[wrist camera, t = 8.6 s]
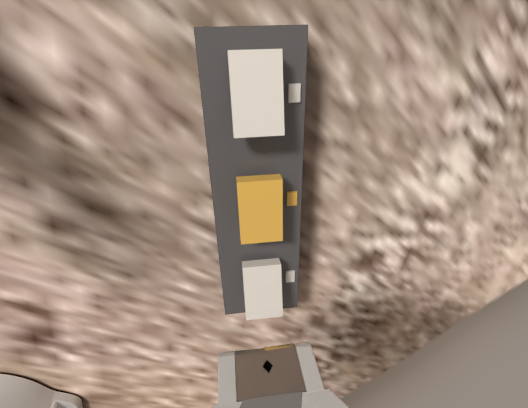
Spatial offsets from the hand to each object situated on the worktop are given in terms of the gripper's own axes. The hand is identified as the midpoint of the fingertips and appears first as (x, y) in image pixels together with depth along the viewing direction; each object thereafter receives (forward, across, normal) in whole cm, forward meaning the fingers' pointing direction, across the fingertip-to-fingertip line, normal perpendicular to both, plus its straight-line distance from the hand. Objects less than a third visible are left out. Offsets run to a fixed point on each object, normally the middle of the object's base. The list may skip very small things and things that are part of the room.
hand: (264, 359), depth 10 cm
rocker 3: (+15, +2, -10) cm, 18 cm away
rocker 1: (+15, +1, +6) cm, 16 cm away
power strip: (+19, +2, -3) cm, 20 cm away
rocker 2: (+15, +2, -2) cm, 15 cm away
